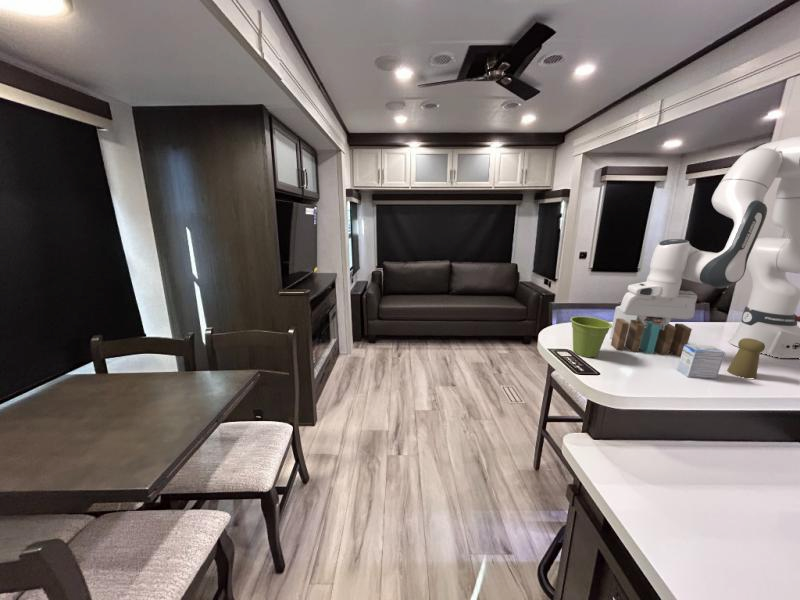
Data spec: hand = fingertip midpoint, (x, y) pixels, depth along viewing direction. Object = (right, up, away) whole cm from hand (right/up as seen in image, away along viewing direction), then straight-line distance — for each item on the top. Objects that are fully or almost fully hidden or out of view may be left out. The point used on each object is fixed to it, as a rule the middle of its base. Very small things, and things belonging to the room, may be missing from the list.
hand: (651, 328), depth 107 cm
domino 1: (-9, -7, +4) cm, 12 cm away
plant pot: (-24, -8, -1) cm, 25 cm away
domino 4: (+4, -8, +1) cm, 9 cm away
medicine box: (+2, -13, -14) cm, 19 cm away
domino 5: (+8, -9, 0) cm, 12 cm away
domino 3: (0, -8, +2) cm, 8 cm away
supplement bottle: (+8, -6, +11) cm, 15 cm away
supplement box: (-1, -5, +12) cm, 13 cm away
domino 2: (-5, -7, +3) cm, 9 cm away
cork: (+17, -13, -13) cm, 24 cm away
